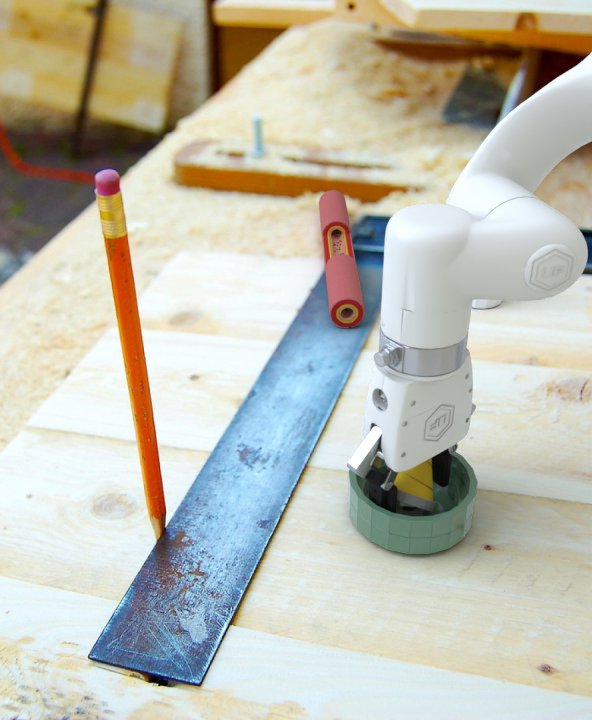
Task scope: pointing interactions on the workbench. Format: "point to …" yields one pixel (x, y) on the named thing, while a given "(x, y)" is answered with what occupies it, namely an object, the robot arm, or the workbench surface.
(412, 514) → the drill bit
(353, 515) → the bowl
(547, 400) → the workbench surface
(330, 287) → the blood vessel
